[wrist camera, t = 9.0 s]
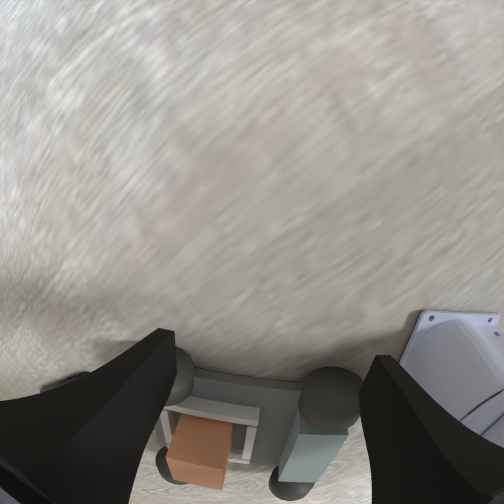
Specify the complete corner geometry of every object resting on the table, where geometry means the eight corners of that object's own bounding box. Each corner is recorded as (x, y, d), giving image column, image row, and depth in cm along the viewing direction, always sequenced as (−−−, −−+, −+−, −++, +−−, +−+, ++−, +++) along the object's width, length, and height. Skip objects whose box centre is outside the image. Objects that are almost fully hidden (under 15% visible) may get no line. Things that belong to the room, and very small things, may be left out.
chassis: (362, 368, 21) (375, 414, 16) (310, 467, 27) (311, 501, 22) (142, 338, 22) (115, 378, 17) (164, 446, 28) (152, 477, 23)
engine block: (234, 414, 22) (222, 469, 17) (232, 441, 24) (222, 489, 18) (184, 404, 23) (165, 456, 17) (188, 433, 24) (173, 479, 19)
